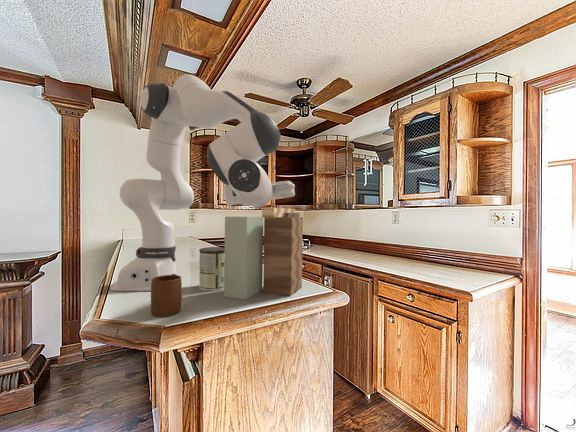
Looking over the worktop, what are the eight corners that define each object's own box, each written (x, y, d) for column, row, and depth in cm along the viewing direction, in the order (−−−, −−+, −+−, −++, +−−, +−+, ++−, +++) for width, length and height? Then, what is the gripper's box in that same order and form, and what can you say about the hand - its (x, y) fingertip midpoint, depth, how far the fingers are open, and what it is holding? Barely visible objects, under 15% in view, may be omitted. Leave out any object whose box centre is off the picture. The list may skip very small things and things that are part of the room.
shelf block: (245, 299, 88) (246, 216, 88) (224, 296, 91) (225, 216, 91) (262, 289, 100) (263, 216, 99) (242, 287, 102) (243, 216, 102)
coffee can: (205, 283, 108) (205, 246, 108) (231, 284, 107) (232, 247, 107) (193, 290, 98) (194, 250, 98) (222, 291, 97) (223, 250, 97)
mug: (162, 303, 84) (162, 271, 84) (188, 302, 85) (188, 271, 84) (146, 318, 72) (146, 281, 72) (176, 317, 73) (177, 280, 73)
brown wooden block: (290, 296, 93) (292, 212, 92) (263, 292, 96) (264, 212, 96) (301, 287, 104) (302, 213, 104) (276, 284, 107) (277, 212, 107)
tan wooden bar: (274, 217, 86) (274, 207, 86) (262, 217, 87) (262, 207, 87) (295, 217, 105) (295, 209, 105) (285, 216, 106) (285, 208, 106)
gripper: (292, 172, 75) (294, 183, 89) (218, 184, 76) (231, 193, 90) (296, 195, 75) (297, 203, 88) (221, 207, 76) (234, 213, 89)
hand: (263, 198), depth 89 cm, fingers open, 8 cm apart
